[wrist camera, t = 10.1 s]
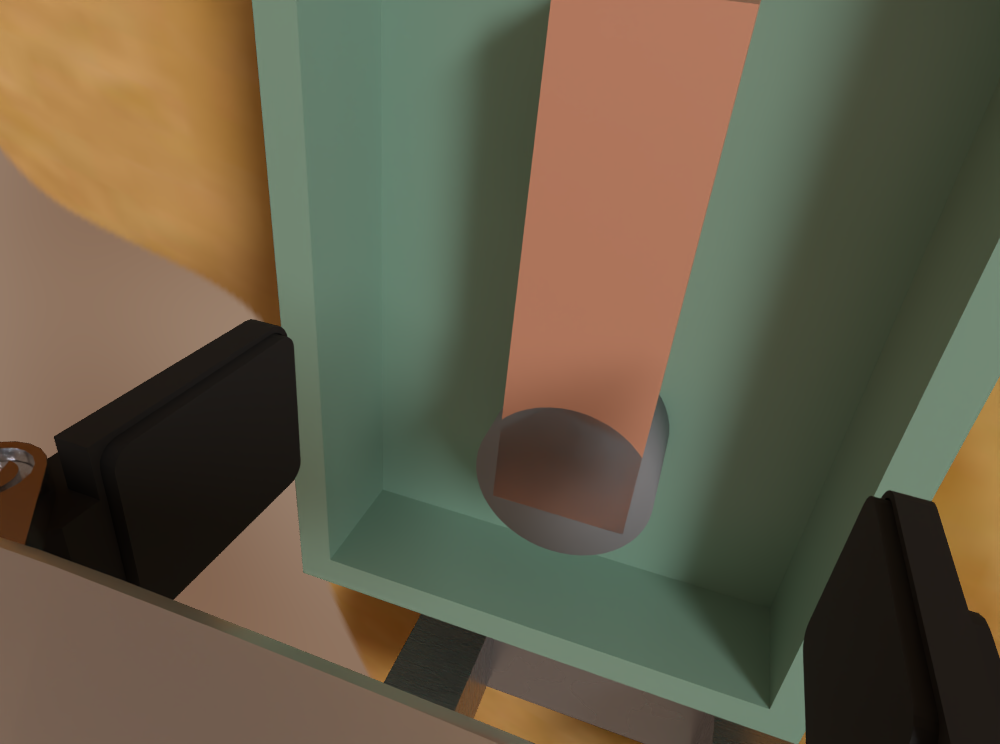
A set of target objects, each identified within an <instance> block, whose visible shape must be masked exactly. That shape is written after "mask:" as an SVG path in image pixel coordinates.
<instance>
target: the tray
mask: <svg viewBox="0 0 1000 744" xmlns="http://www.w3.org/2000/svg"><path fill="white" fill-rule="evenodd" d="M550 4H551V0H252V7H253V18H254V29H255V40H256V51H257V63H258V74H259V85H260V96H261V107H262V118H263V129H264V140H265V151H266V163H267V174H268V185H269V196H270V207H271V218H272V229H273V240H274V252H275V263H276V274H277V285H278V296H279V307H280V318H281V327H282V328H283V329H285V331H286V333H287V337H289V338H290V339H292V341H293V344H294V354H295V371H296V388H297V405H298V423H299V440H300V457H301V464H300V469H299V472H298V474H297V476H296V478H295V485H296V496H297V507H298V517H299V530H300V541H301V552H302V563H303V572H304V573H306V574H309V575H312V576H315V577H317V578H320V579H323V580H326V581H329V582H332V583H335V584H337V585H340V586H343V587H346V588H349V589H352V590H355V591H358V592H360V593H363V594H366V595H369V596H372V597H375V598H378V599H381V600H383V601H386V602H389V603H392V604H395V605H398V606H401V607H404V608H406V609H409V610H412V611H415V612H418V613H421V614H424V615H427V616H429V617H432V618H435V619H438V620H441V621H444V622H447V623H449V624H452V625H455V626H458V627H461V628H464V629H467V630H470V631H472V632H475V633H478V634H481V635H484V636H487V637H490V638H493V639H495V640H498V641H501V642H504V643H507V644H510V645H513V646H516V647H518V648H521V649H524V650H527V651H530V652H533V653H536V654H539V655H541V656H544V657H547V658H550V659H553V660H556V661H559V662H561V663H564V664H567V665H570V666H573V667H576V668H579V669H582V670H584V671H587V672H590V673H593V674H596V675H599V676H602V677H605V678H607V679H610V680H613V681H616V682H619V683H622V684H625V685H628V686H630V687H633V688H636V689H639V690H642V691H645V692H648V693H651V694H653V695H656V696H659V697H662V698H665V699H668V700H671V701H673V702H676V703H679V704H682V705H685V706H688V707H691V708H694V709H696V710H699V711H702V712H705V713H708V714H711V715H714V716H717V717H719V718H722V719H725V720H728V721H731V722H734V723H737V724H740V725H742V726H745V727H748V728H751V729H754V730H757V731H760V732H763V733H765V734H768V735H771V736H774V737H777V738H780V739H783V740H785V741H788V742H791V743H794V744H798V743H799V742H800V740H801V738H802V736H803V734H804V732H805V731H806V728H805V699H804V670H803V642H804V636H805V632H806V628H807V625H808V623H809V621H810V618H811V616H812V614H813V612H814V610H815V608H816V606H817V603H818V601H819V599H820V597H821V595H822V593H823V590H824V588H825V586H826V584H827V582H828V580H829V578H830V575H831V573H832V571H833V569H834V567H835V565H836V563H837V560H838V558H839V556H840V554H841V552H842V550H843V547H844V545H845V543H846V541H847V539H848V537H849V535H850V532H851V530H852V528H853V526H854V524H855V522H856V519H857V517H858V515H859V513H860V511H861V509H862V507H863V504H864V503H865V501H866V499H867V498H868V497H869V496H874V497H878V498H881V497H882V496H883V494H884V493H885V492H886V491H888V490H891V491H895V492H899V493H903V494H906V495H910V496H914V497H917V498H921V499H925V500H929V501H932V499H933V497H934V495H935V493H936V492H937V490H938V488H939V486H940V484H941V482H942V481H943V479H944V477H945V475H946V473H947V471H948V470H949V468H950V466H951V464H952V462H953V461H954V459H955V457H956V455H957V453H958V451H959V450H960V448H961V446H962V444H963V442H964V440H965V439H966V437H967V435H968V433H969V431H970V429H971V428H972V426H973V424H974V422H975V420H976V419H977V417H978V415H979V413H980V411H981V409H982V408H983V406H984V404H985V402H986V400H987V398H988V397H989V395H990V393H991V391H992V389H993V388H994V386H995V384H996V382H997V380H998V378H999V377H1000V0H761V3H760V7H759V11H758V14H757V18H756V22H755V26H754V30H753V34H752V38H751V42H750V45H749V49H748V53H747V57H746V61H745V65H744V69H743V73H742V76H741V80H740V84H739V88H738V92H737V96H736V100H735V103H734V107H733V111H732V115H731V119H730V123H729V127H728V131H727V134H726V138H725V142H724V146H723V150H722V154H721V158H720V161H719V165H718V169H717V173H716V177H715V181H714V185H713V189H712V192H711V196H710V200H709V204H708V208H707V212H706V216H705V220H704V223H703V227H702V231H701V235H700V239H699V243H698V247H697V250H696V254H695V258H694V262H693V266H692V270H691V274H690V278H689V281H688V285H687V289H686V293H685V297H684V301H683V305H682V309H681V312H680V316H679V320H678V324H677V328H676V332H675V336H674V339H673V343H672V347H671V351H670V355H669V359H668V363H667V367H666V370H665V374H664V378H663V382H662V386H661V390H660V394H659V395H660V396H661V398H662V400H663V403H664V405H665V407H666V410H667V414H668V419H669V438H668V443H667V448H666V452H665V457H664V461H663V466H662V470H661V475H660V479H659V484H658V488H657V493H656V497H655V501H654V506H653V510H652V514H651V516H650V519H649V521H648V523H647V525H646V526H645V528H644V529H643V531H642V532H641V533H640V534H639V535H638V536H637V537H636V538H635V539H634V540H632V541H631V542H630V543H628V544H626V545H625V546H623V547H621V548H619V549H616V550H614V551H611V552H607V553H604V554H597V555H584V556H581V555H569V554H563V553H558V552H555V551H551V550H548V549H545V548H542V547H540V546H538V545H535V544H533V543H531V542H529V541H527V540H526V539H524V538H522V537H521V536H519V535H518V534H516V533H515V532H514V531H512V530H511V529H510V528H509V527H507V526H506V525H505V524H504V523H503V522H502V521H501V520H500V519H499V518H498V517H497V516H496V514H495V513H494V512H493V510H492V509H491V508H490V506H489V505H488V503H487V501H486V500H485V498H484V496H483V494H482V491H481V489H480V486H479V482H478V479H477V472H476V460H477V454H478V450H479V447H480V445H481V442H482V440H483V439H484V437H485V435H486V434H487V432H488V430H489V429H490V427H491V425H492V424H493V422H494V421H495V419H496V417H497V416H498V414H499V412H500V411H501V409H502V408H503V405H504V397H505V388H506V379H507V371H508V362H509V354H510V345H511V337H512V328H513V320H514V311H515V303H516V294H517V286H518V277H519V269H520V260H521V251H522V243H523V234H524V226H525V217H526V209H527V200H528V192H529V183H530V175H531V166H532V158H533V149H534V141H535V132H536V124H537V115H538V106H539V98H540V89H541V81H542V72H543V64H544V55H545V47H546V38H547V30H548V21H549V13H550Z"/></svg>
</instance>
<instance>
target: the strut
mask: <svg viewBox="0 0 1000 744" xmlns="http://www.w3.org/2000/svg"><path fill="white" fill-rule="evenodd" d="M760 3H761V0H551V4H550V13H549V21H548V30H547V38H546V47H545V55H544V64H543V72H542V81H541V89H540V98H539V106H538V115H537V124H536V132H535V141H534V149H533V158H532V166H531V175H530V183H529V192H528V200H527V209H526V217H525V226H524V234H523V243H522V251H521V260H520V269H519V277H518V286H517V294H516V303H515V311H514V320H513V328H512V337H511V345H510V354H509V362H508V371H507V379H506V388H505V397H504V405H503V408H502V409H501V411H500V412H499V414H498V416H497V417H496V419H495V421H494V422H493V424H492V425H491V427H490V429H489V430H488V432H487V434H486V435H485V437H484V439H483V440H482V442H481V445H480V447H479V450H478V454H477V460H476V472H477V479H478V482H479V486H480V489H481V491H482V494H483V496H484V498H485V500H486V501H487V503H488V505H489V506H490V508H491V509H492V510H493V512H494V513H495V514H496V516H497V517H498V518H499V519H500V520H501V521H502V522H503V523H504V524H505V525H506V526H507V527H509V528H510V529H511V530H512V531H514V532H515V533H516V534H518V535H519V536H521V537H522V538H524V539H526V540H527V541H529V542H531V543H533V544H535V545H538V546H540V547H542V548H545V549H548V550H551V551H555V552H558V553H563V554H569V555H581V556H584V555H597V554H604V553H607V552H611V551H614V550H616V549H619V548H621V547H623V546H625V545H626V544H628V543H630V542H631V541H632V540H634V539H635V538H636V537H637V536H638V535H639V534H640V533H641V532H642V531H643V529H644V528H645V526H646V525H647V523H648V521H649V519H650V516H651V514H652V510H653V506H654V501H655V497H656V493H657V488H658V484H659V479H660V475H661V470H662V466H663V461H664V457H665V452H666V448H667V443H668V438H669V419H668V414H667V410H666V407H665V405H664V403H663V400H662V398H661V396H660V395H659V394H660V390H661V386H662V382H663V378H664V374H665V370H666V367H667V363H668V359H669V355H670V351H671V347H672V343H673V339H674V336H675V332H676V328H677V324H678V320H679V316H680V312H681V309H682V305H683V301H684V297H685V293H686V289H687V285H688V281H689V278H690V274H691V270H692V266H693V262H694V258H695V254H696V250H697V247H698V243H699V239H700V235H701V231H702V227H703V223H704V220H705V216H706V212H707V208H708V204H709V200H710V196H711V192H712V189H713V185H714V181H715V177H716V173H717V169H718V165H719V161H720V158H721V154H722V150H723V146H724V142H725V138H726V134H727V131H728V127H729V123H730V119H731V115H732V111H733V107H734V103H735V100H736V96H737V92H738V88H739V84H740V80H741V76H742V73H743V69H744V65H745V61H746V57H747V53H748V49H749V45H750V42H751V38H752V34H753V30H754V26H755V22H756V18H757V14H758V11H759V7H760Z"/></svg>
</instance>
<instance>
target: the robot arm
mask: <svg viewBox="0 0 1000 744" xmlns="http://www.w3.org/2000/svg"><path fill="white" fill-rule="evenodd" d="M54 439H55V443H56V446H57V450H58V453H56V454H54V455H53V456H52V457H50V458H48V459H47V456H46V454H45V453H44V452H43V451H42V449H41V448H39V447H36V446H34V445H32V444H29V443H23V442H16V441H14V442H0V744H534V743H532V742H530V741H527V740H525V739H522V738H520V737H517V736H515V735H512V734H510V733H507V732H505V731H502V730H500V729H497V728H495V727H492V726H490V725H487V724H485V723H482V722H480V721H477V720H475V719H473V718H470V717H468V716H465V715H463V714H460V713H458V712H455V711H453V710H450V709H448V708H445V707H443V706H440V705H438V704H435V703H433V702H430V701H428V700H425V699H423V698H420V697H418V696H415V695H412V694H410V693H407V692H405V691H402V690H400V689H397V688H395V687H392V686H390V685H387V684H385V683H382V682H380V681H377V680H375V679H372V678H370V677H367V676H365V675H362V674H360V673H357V672H354V671H352V670H350V669H347V668H344V667H342V666H339V665H337V664H334V663H332V662H329V661H327V660H324V659H322V658H319V657H317V656H314V655H312V654H309V653H307V652H304V651H302V650H299V649H296V648H294V647H292V646H289V645H286V644H284V643H281V642H279V641H276V640H274V639H271V638H269V637H266V636H264V635H261V634H259V633H256V632H254V631H251V630H249V629H246V628H243V627H240V626H238V625H236V624H233V623H230V622H228V621H225V620H223V619H220V618H218V617H215V616H213V615H210V614H208V613H205V612H202V611H200V610H197V609H195V608H192V607H189V606H187V605H184V604H182V603H179V602H177V601H174V599H175V598H176V597H177V596H178V594H180V593H181V592H182V591H183V590H184V589H185V588H186V587H187V586H188V585H189V584H190V583H191V582H192V581H193V580H194V579H195V578H196V577H197V576H198V575H199V574H200V573H201V572H202V571H203V570H204V569H205V568H206V567H207V566H208V565H209V564H210V563H211V562H212V561H213V560H214V559H215V558H216V557H217V556H218V555H219V554H220V553H221V552H222V551H223V550H224V549H225V548H226V547H227V546H228V545H229V544H230V543H231V542H232V541H233V540H234V539H235V538H236V537H237V536H238V535H239V534H240V533H241V532H242V531H243V530H244V529H245V528H246V527H247V526H248V525H249V524H250V523H251V522H252V521H253V520H254V519H256V517H258V515H260V513H262V512H263V511H264V509H266V508H267V507H268V506H269V505H270V504H271V503H272V502H273V501H274V499H276V498H277V497H278V496H279V495H280V494H281V493H282V492H283V491H284V490H285V489H286V488H287V487H288V486H289V485H290V484H291V483H292V482H293V481H294V479H295V478H296V476H297V474H298V472H299V469H300V464H301V457H300V440H299V423H298V405H297V388H296V371H295V354H294V344H293V341H292V339H290V338H289V337H287V333H286V331H285V329H283V328H282V327H280V326H276V325H272V324H269V323H265V322H261V321H258V320H252V319H250V320H247V321H245V322H243V323H242V324H240V325H239V326H237V327H235V328H234V329H232V330H230V331H229V332H227V333H225V334H224V335H222V336H220V337H219V338H217V339H215V340H214V341H212V342H210V343H209V344H207V345H205V346H204V347H202V348H200V349H199V350H197V351H195V352H194V353H192V354H190V355H189V356H187V357H185V358H184V359H182V360H180V361H179V362H177V363H175V364H174V365H172V366H170V367H169V368H167V369H165V370H164V371H162V372H161V373H159V374H157V375H155V376H154V377H152V378H151V379H149V380H147V381H146V382H144V383H142V384H140V385H139V386H137V387H136V388H134V389H133V390H131V391H129V392H127V393H126V394H124V395H122V396H121V397H119V398H117V399H116V400H114V401H113V402H111V403H109V404H107V405H106V406H104V407H102V408H101V409H99V410H97V411H96V412H94V413H92V414H91V415H89V416H87V417H86V418H84V419H82V420H81V421H79V422H77V423H76V424H74V425H73V426H71V427H69V428H67V429H66V430H64V431H62V432H61V433H59V434H58V435H56V436H54ZM803 670H804V699H805V728H806V744H1000V658H999V655H998V652H997V649H996V646H995V643H994V640H993V637H992V634H991V631H990V628H989V626H988V624H987V622H986V620H985V618H983V617H982V616H981V615H980V614H979V613H975V612H972V611H969V610H968V607H967V604H966V601H965V598H964V594H963V591H962V588H961V585H960V581H959V578H958V575H957V572H956V568H955V565H954V562H953V559H952V555H951V552H950V549H949V546H948V542H947V539H946V536H945V533H944V529H943V526H942V523H941V520H940V516H939V513H938V510H937V507H936V505H935V503H934V502H932V501H929V500H925V499H921V498H917V497H914V496H910V495H906V494H903V493H899V492H895V491H891V490H888V491H886V492H885V493H884V494H883V496H882V497H881V498H878V497H874V496H869V497H868V498H867V499H866V501H865V503H864V504H863V507H862V509H861V511H860V513H859V515H858V517H857V519H856V522H855V524H854V526H853V528H852V530H851V532H850V535H849V537H848V539H847V541H846V543H845V545H844V547H843V550H842V552H841V554H840V556H839V558H838V560H837V563H836V565H835V567H834V569H833V571H832V573H831V575H830V578H829V580H828V582H827V584H826V586H825V588H824V590H823V593H822V595H821V597H820V599H819V601H818V603H817V606H816V608H815V610H814V612H813V614H812V616H811V618H810V621H809V623H808V625H807V628H806V632H805V636H804V642H803Z"/></svg>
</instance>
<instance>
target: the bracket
mask: <svg viewBox="0 0 1000 744" xmlns="http://www.w3.org/2000/svg"><path fill="white" fill-rule="evenodd" d="M384 683H385V684H387V685H390V686H392V687H395V688H397V689H400V690H402V691H405V692H407V693H410V694H412V695H415V696H418V697H420V698H423V699H425V700H428V701H430V702H433V703H435V704H438V705H440V706H443V707H445V708H448V709H450V710H453V711H455V712H458V713H460V714H463V715H465V716H468V717H470V718H473V719H474V716H475V714H476V711H477V709H478V706H479V704H480V701H481V699H482V696H483V694H484V691H485V689H486V686H488V687H491V688H494V689H496V690H499V691H502V692H505V693H507V694H510V695H513V696H515V697H518V698H521V699H524V700H526V701H529V702H532V703H535V704H537V705H540V706H543V707H546V708H548V709H551V710H554V711H556V712H559V713H562V714H565V715H567V716H570V717H573V718H576V719H578V720H581V721H584V722H587V723H589V724H592V725H595V726H597V727H600V728H603V729H606V730H608V731H611V732H614V733H617V734H619V735H622V736H625V737H628V738H630V739H633V740H636V741H639V742H641V743H644V744H794V743H791V742H788V741H785V740H783V739H780V738H777V737H774V736H771V735H768V734H765V733H763V732H760V731H757V730H754V729H751V728H748V727H745V726H742V725H740V724H737V723H734V722H731V721H728V720H725V719H722V718H719V717H717V716H714V715H711V714H708V713H705V712H702V711H699V710H696V709H694V708H691V707H688V706H685V705H682V704H679V703H676V702H673V701H671V700H668V699H665V698H662V697H659V696H656V695H653V694H651V693H648V692H645V691H642V690H639V689H636V688H633V687H630V686H628V685H625V684H622V683H619V682H616V681H613V680H610V679H607V678H605V677H602V676H599V675H596V674H593V673H590V672H587V671H584V670H582V669H579V668H576V667H573V666H570V665H567V664H564V663H561V662H559V661H556V660H553V659H550V658H547V657H544V656H541V655H539V654H536V653H533V652H530V651H527V650H524V649H521V648H518V647H516V646H513V645H510V644H507V643H504V642H501V641H498V640H495V639H493V638H490V637H487V636H484V635H481V634H478V633H475V632H472V631H470V630H467V629H464V628H461V627H458V626H455V625H452V624H449V623H447V622H444V621H441V620H438V619H435V618H432V617H429V616H427V615H424V614H421V615H420V617H419V619H418V621H417V623H416V625H415V626H414V628H413V630H412V632H411V634H410V636H409V637H408V639H407V641H406V643H405V645H404V647H403V648H402V650H401V652H400V654H399V656H398V658H397V659H396V661H395V663H394V665H393V667H392V669H391V670H390V672H389V674H388V676H387V678H386V680H385V681H384Z"/></svg>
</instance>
